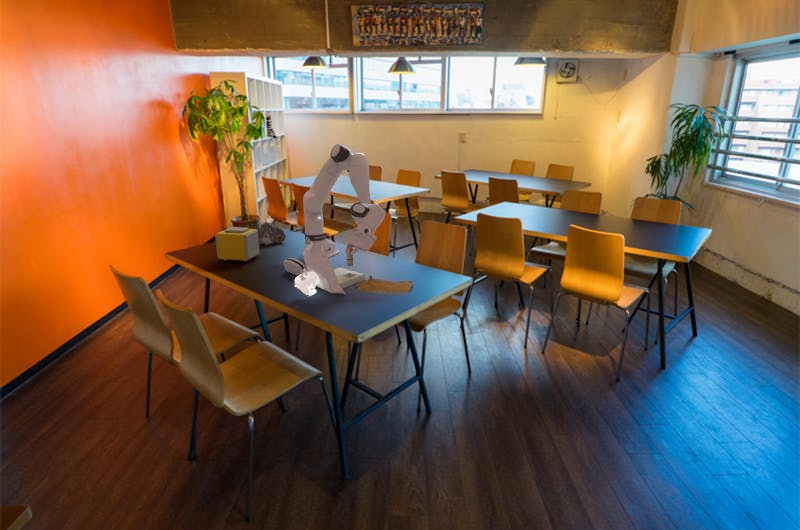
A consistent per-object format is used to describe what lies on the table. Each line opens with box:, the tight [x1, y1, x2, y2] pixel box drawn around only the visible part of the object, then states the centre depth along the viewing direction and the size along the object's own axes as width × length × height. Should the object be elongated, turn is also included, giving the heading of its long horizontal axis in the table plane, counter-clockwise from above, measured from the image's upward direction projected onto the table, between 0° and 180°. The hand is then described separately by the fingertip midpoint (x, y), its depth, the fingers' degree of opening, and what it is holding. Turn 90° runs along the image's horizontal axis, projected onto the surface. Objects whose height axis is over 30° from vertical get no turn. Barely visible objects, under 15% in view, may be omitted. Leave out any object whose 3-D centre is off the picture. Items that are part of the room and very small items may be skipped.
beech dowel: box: [345, 245, 354, 267], centre depth 230 cm, size 3×3×11 cm
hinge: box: [282, 257, 308, 276], centre depth 242 cm, size 17×5×10 cm, turn 47°
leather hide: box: [353, 274, 414, 295], centre depth 223 cm, size 29×26×5 cm
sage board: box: [333, 267, 366, 289], centre depth 234 cm, size 18×18×3 cm
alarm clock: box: [214, 226, 261, 263], centre depth 267 cm, size 20×16×18 cm
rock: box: [256, 221, 287, 246], centre depth 304 cm, size 18×14×15 cm
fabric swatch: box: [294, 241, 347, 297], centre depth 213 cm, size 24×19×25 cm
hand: (348, 253), depth 229 cm, fingers closed on beech dowel, 3 cm apart
